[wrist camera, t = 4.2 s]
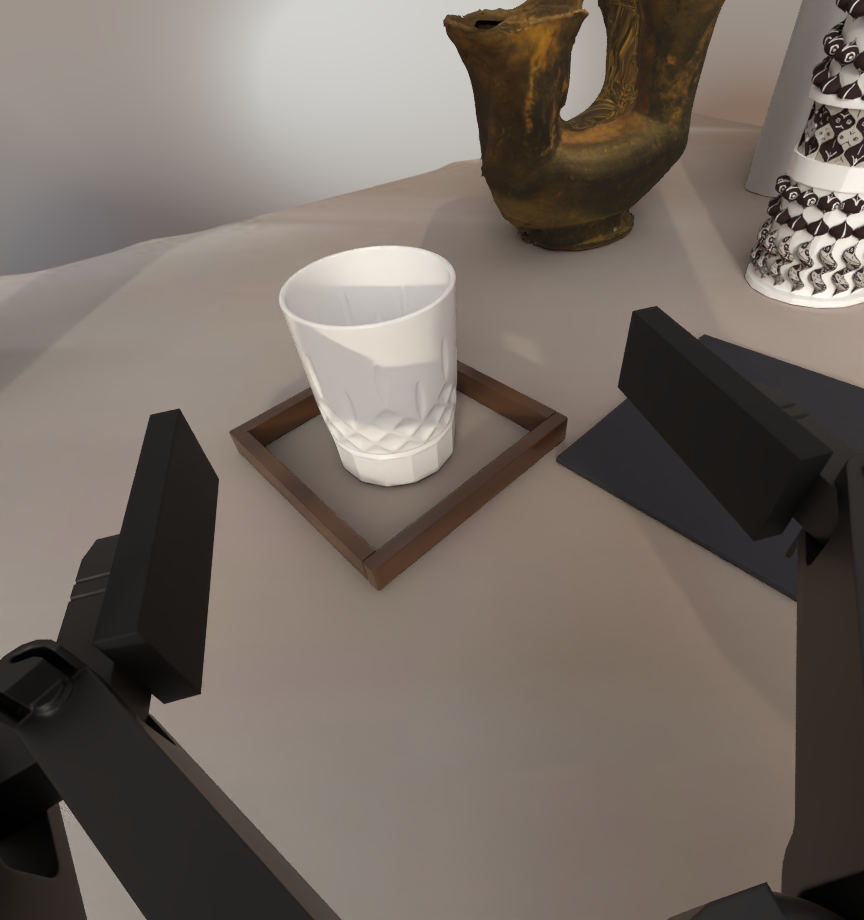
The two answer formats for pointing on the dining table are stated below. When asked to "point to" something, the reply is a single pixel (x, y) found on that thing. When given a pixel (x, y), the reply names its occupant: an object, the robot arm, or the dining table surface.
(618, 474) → the mat
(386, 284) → the white cup
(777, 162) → the white triangular vase
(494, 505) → the dining table surface
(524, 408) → the wooden frame
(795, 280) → the decorative candle
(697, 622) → the dining table surface
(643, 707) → the dining table surface
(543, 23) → the pottery vessel
